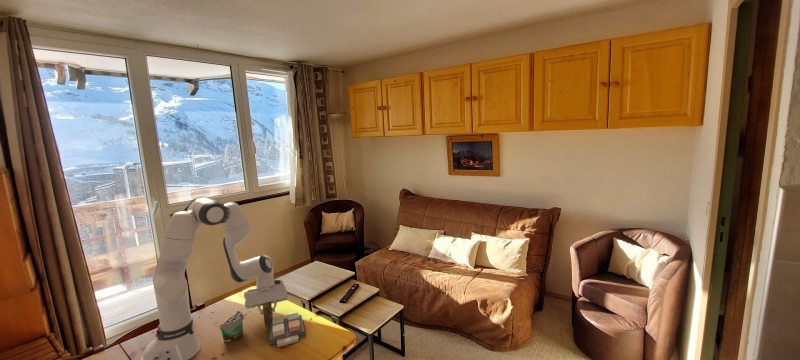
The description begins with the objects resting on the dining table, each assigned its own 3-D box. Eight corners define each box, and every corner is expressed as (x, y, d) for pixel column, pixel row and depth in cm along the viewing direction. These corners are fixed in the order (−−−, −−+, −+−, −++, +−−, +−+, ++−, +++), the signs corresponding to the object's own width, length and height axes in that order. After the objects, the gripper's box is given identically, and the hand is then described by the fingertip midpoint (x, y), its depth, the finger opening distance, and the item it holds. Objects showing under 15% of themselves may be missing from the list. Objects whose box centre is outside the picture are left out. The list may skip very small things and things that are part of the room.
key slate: (288, 324, 157) (288, 320, 156) (288, 319, 161) (287, 314, 161) (299, 322, 158) (298, 317, 158) (298, 316, 163) (297, 312, 163)
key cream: (273, 337, 148) (272, 332, 147) (273, 331, 152) (272, 326, 152) (284, 334, 149) (284, 329, 149) (284, 328, 154) (283, 323, 154)
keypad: (270, 348, 143) (269, 343, 143) (270, 327, 160) (269, 322, 159) (305, 339, 149) (304, 334, 148) (301, 319, 165) (301, 314, 165)
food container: (233, 346, 146) (231, 326, 145) (222, 345, 147) (219, 325, 146) (251, 330, 158) (249, 311, 157) (240, 329, 159) (237, 310, 158)
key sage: (273, 328, 154) (272, 323, 154) (272, 323, 159) (272, 318, 158) (284, 325, 156) (283, 321, 155) (283, 320, 160) (283, 315, 160)
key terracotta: (289, 332, 150) (288, 327, 150) (288, 327, 155) (288, 322, 154) (300, 330, 152) (300, 325, 152) (299, 324, 157) (299, 319, 156)
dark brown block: (264, 326, 161) (262, 307, 159) (264, 322, 164) (262, 303, 163) (273, 324, 162) (271, 305, 161) (273, 320, 166) (271, 301, 164)
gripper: (243, 288, 163) (244, 316, 156) (285, 279, 171) (288, 305, 163) (244, 292, 168) (245, 319, 160) (286, 284, 175) (289, 309, 168)
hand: (267, 312), depth 162 cm, fingers closed on dark brown block, 4 cm apart
